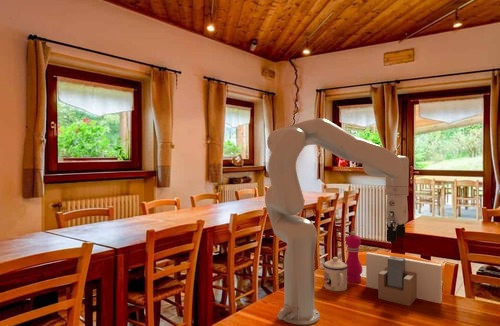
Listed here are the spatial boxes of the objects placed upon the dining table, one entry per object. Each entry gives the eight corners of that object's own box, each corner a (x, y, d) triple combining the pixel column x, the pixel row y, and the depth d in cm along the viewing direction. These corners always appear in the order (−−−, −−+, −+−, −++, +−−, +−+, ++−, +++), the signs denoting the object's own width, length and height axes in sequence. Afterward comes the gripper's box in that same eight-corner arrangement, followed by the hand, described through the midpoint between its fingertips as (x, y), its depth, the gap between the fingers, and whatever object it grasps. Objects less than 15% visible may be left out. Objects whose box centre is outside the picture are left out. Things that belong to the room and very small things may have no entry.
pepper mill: (363, 283, 145) (363, 233, 144) (344, 282, 146) (344, 232, 145) (361, 277, 152) (361, 229, 151) (343, 276, 153) (343, 229, 153)
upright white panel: (434, 312, 118) (434, 272, 118) (357, 293, 135) (357, 258, 134) (441, 301, 127) (441, 264, 126) (368, 285, 143) (368, 252, 143)
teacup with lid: (320, 283, 145) (320, 254, 144) (342, 282, 146) (342, 253, 145) (330, 295, 133) (330, 263, 133) (354, 294, 134) (354, 262, 134)
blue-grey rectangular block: (402, 289, 126) (402, 260, 126) (387, 286, 129) (387, 258, 129) (405, 286, 129) (405, 258, 129) (390, 283, 132) (390, 256, 132)
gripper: (400, 193, 119) (399, 245, 119) (414, 189, 133) (414, 236, 133) (377, 191, 124) (376, 242, 124) (393, 188, 137) (392, 233, 138)
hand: (395, 239), depth 129 cm, fingers open, 9 cm apart
